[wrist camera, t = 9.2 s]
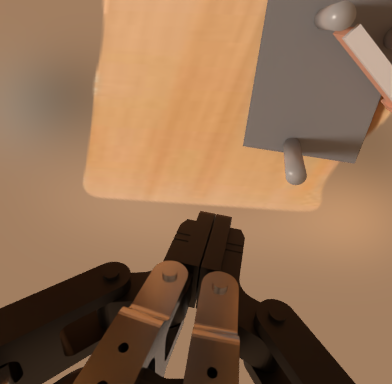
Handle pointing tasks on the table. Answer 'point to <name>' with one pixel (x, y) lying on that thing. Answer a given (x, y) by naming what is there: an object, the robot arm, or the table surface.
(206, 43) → the table surface
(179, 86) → the table surface
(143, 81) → the table surface
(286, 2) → the gate frame
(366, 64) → the gate
